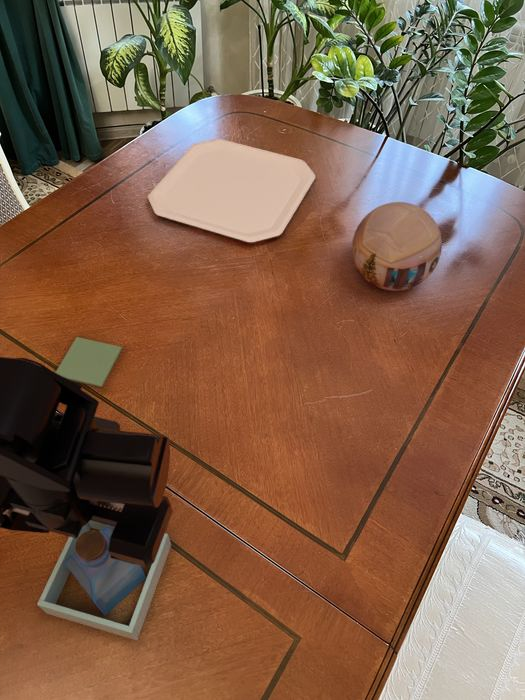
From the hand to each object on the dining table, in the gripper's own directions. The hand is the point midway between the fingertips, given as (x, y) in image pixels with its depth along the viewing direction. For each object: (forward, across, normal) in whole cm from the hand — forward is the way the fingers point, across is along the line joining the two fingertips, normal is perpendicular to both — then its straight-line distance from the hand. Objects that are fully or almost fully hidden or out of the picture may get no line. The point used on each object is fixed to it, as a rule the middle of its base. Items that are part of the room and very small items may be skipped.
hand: (89, 538), depth 61 cm
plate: (+13, +7, -78) cm, 79 cm away
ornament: (+13, -27, -62) cm, 69 cm away
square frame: (+13, 0, 0) cm, 13 cm away
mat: (+13, +17, -30) cm, 37 cm away
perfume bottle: (+13, 0, 0) cm, 13 cm away
